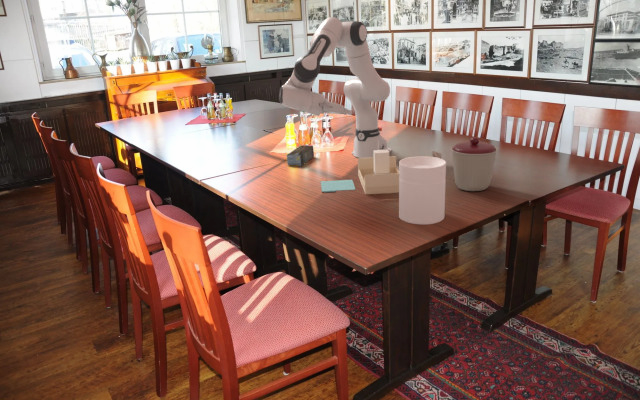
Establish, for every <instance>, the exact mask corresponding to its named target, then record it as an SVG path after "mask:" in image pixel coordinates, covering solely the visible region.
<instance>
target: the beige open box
mask: <svg viewBox="0 0 640 400" xmlns="http://www.w3.org/2000/svg"><path fill="white" fill-rule="evenodd" d="M357 173H358V174H357V175H358V178H359V181H360V184H361V187H362V188H363V192H364V194H365V195H377V194H378V195H380V194H399V168H397V156H396V155H394V156H393V155H392V156H391V155H389V174H374V158H373V157H371V158H358V157H357Z"/></svg>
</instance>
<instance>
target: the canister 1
mask: <svg viewBox="0 0 640 400" xmlns="http://www.w3.org/2000/svg"><path fill="white" fill-rule="evenodd" d="M398 165H399V166H398V171H399V193H398V217H399V219H400V220H401V221H403V222H404V223H408V224H414V225H433V224H437V223H440V222H441V221H443V220H444V219H445V212H446V211H445V210H446V209H445V208H446V206H445V205H446V182H447V181H446V179H447V178H446V174H447V161H446V160H445V159H443V158H442V157H441V158H437V157H432V156H426V155H424V156H422V155H421V156H416V155H415V156H410V157H404V158H402V159H400V160H399V161H398Z"/></svg>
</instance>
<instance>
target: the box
mask: <svg viewBox="0 0 640 400" xmlns="http://www.w3.org/2000/svg"><path fill="white" fill-rule="evenodd" d="M389 157H390V152H389V151H388V150H373V158H374V174H389Z"/></svg>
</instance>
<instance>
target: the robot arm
mask: <svg viewBox="0 0 640 400" xmlns="http://www.w3.org/2000/svg"><path fill="white" fill-rule="evenodd" d="M367 37H368V29H367V27H366V25H365V24H364V22H362V21H359V20H358V21H357V20H355V21H341V20H340V19H339V18H337V17H335V16H334V17H333V16H330V17H326V19H324V20H323V21H322V22H321V23H320V25H319V26H318V28H317V29H316V30H315V32H314V34H313V35H312V37H311V41H310V45H309V47H310V48H309V49H308V51H307V52H306V53H305V54H304V55H302V56H300V57H298V59H296V61H295V64H294V66H293V67H294V68H293V71H292V74H291V76H290V77H289V79H288V80H287V81H286V82H284V84H283V85H281V86H280V87H279V93H278V100H279V103H280V104H281V105H282V106H283V107H286V108H288V109H292V110H295V111H303V112H305V113H306V114H310V115H315V116H318V117H319V116H320V115H321V114H322V115H324V114H328V115H329V114H330V115H345V116H346V115H349V116H352V115H353V110H354V113H355V126H356V127H355V131H354V132H355V137H354V140H353V151H351V154H352V155H353V157H355V158H357V159H358V158H371V157H373V150H388V151H389V153H391V152H392V148H390V147H388V143H387V142H388V141H387V140H386V139H385V138H384V137H383V136H382V135H381V132H382V131H383V127H382V126H381V127H380V126H379V121H378V119H379V118H378V117H379V116H378V115H379V114H378V112H377V110H376V109H375V108H373V106H372V104H371V103H372V102H373V103H379V102H384V101H387V100H388V98H389V96H390V94H391V87H390V84H389V82H388V81H386V80H385V79H383V78H382V77H381V76H380V75H379V74H378V72H377V70H376V68H375V66H374V64H373V60H372V57H371V52H370V47H369V44H368V41H367ZM336 48H339V49H341V48H344V49H345V53H346V54H345V55H346V58H347V62H348V66H349V70H350V73H352V74H353V75H354V76H356V78H351V79H348V80H347V81H346V82H345V83H344V85H343V94H344V96H345V97H346V98H347V99H348V100H349V102H350V104H351V105H352V107H353V110H351V109H348V108H345V106H344V105H343V104H340V103H336V102H332V101H329V100H328V98H325V94H322V93H319V92H316V91H312V90H311V89H312V88H313V86H314V84H315V81H316V78H317V77H318V76H319V74H320V71H321V61H322V59H323V58H327V57H330V56H331V54H333V52H334V51H335V50H336Z"/></svg>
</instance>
